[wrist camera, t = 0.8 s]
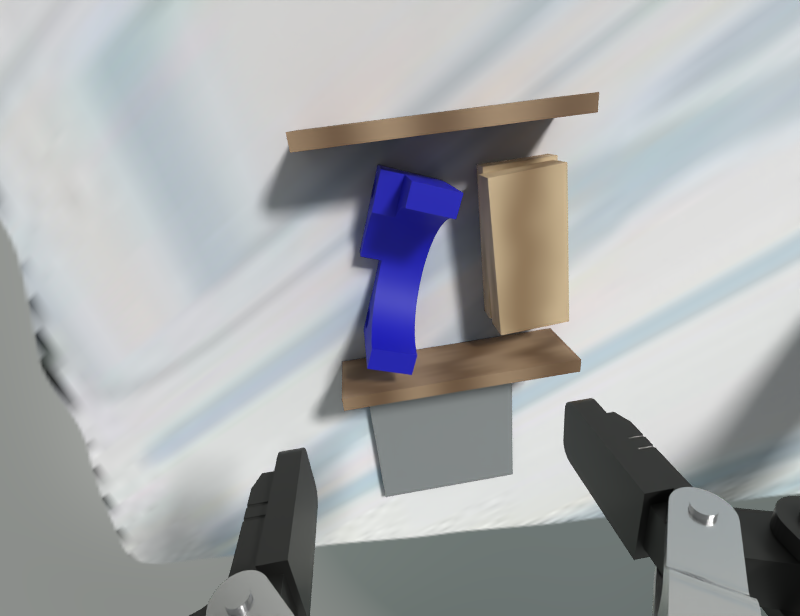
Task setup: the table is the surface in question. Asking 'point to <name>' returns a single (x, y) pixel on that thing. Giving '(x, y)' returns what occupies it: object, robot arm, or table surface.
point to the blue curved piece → (400, 259)
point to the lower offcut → (480, 170)
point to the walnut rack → (464, 360)
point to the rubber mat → (444, 439)
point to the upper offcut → (526, 245)
